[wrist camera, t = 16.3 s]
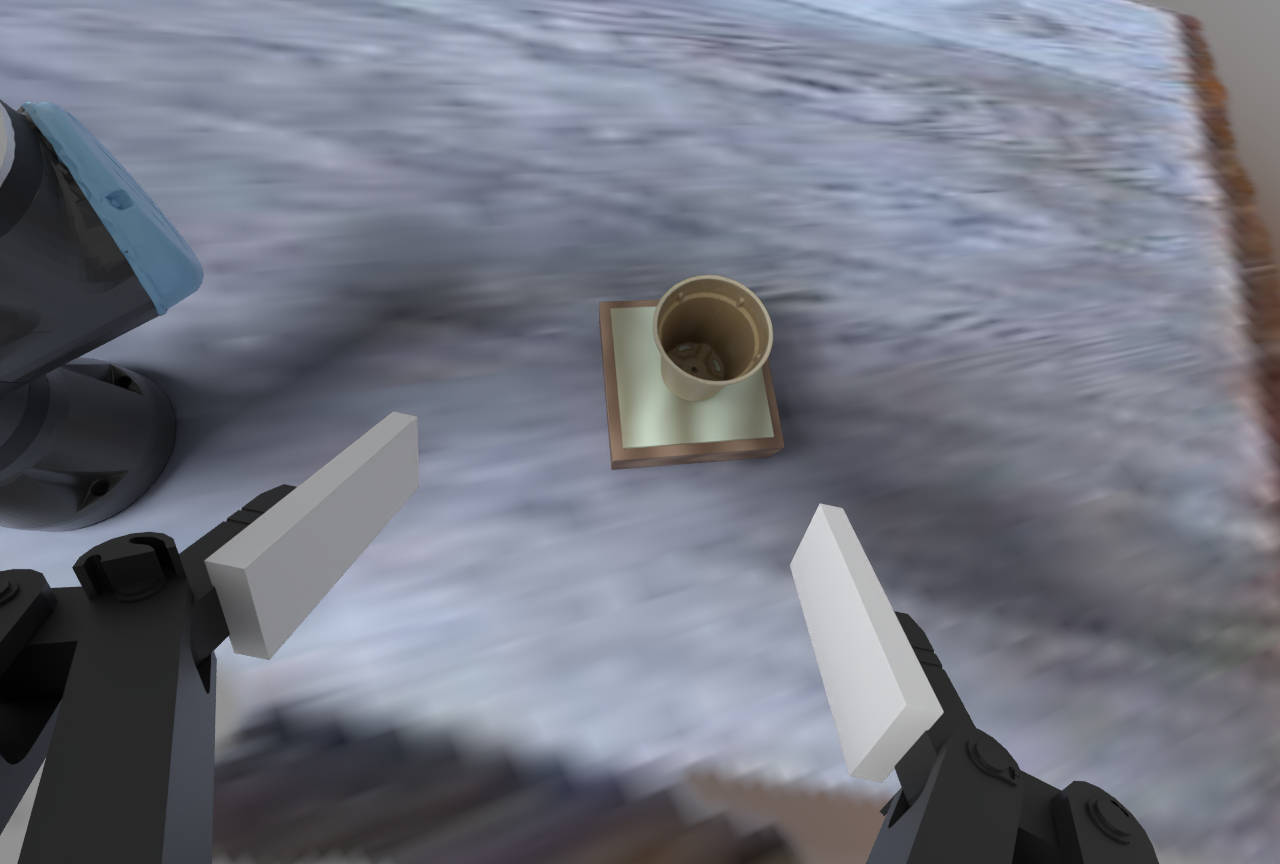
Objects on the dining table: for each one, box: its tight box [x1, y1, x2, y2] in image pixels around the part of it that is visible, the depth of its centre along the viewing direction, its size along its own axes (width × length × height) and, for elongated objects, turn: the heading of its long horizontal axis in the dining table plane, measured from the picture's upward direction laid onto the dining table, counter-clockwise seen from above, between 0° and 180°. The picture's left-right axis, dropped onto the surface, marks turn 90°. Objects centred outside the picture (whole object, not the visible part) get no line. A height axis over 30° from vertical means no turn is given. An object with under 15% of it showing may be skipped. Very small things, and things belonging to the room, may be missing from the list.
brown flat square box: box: [599, 300, 785, 470], centre depth 47 cm, size 16×16×4 cm
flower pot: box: [653, 275, 773, 402], centre depth 40 cm, size 9×9×9 cm
